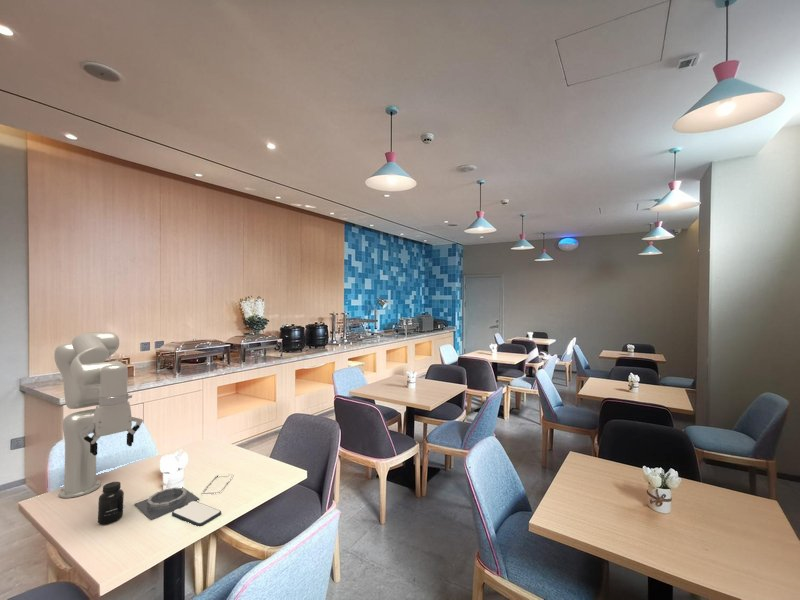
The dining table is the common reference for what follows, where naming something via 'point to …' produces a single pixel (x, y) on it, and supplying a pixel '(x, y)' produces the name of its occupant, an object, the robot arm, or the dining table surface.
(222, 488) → the phone case
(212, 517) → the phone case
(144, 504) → the ring collar
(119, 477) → the dining table surface
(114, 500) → the supplement bottle
